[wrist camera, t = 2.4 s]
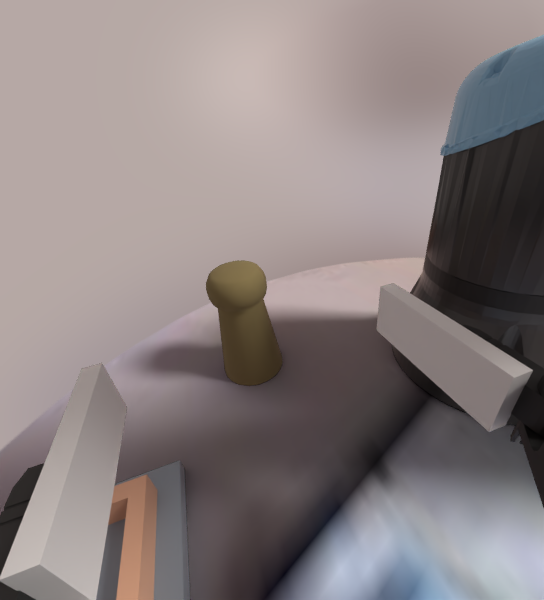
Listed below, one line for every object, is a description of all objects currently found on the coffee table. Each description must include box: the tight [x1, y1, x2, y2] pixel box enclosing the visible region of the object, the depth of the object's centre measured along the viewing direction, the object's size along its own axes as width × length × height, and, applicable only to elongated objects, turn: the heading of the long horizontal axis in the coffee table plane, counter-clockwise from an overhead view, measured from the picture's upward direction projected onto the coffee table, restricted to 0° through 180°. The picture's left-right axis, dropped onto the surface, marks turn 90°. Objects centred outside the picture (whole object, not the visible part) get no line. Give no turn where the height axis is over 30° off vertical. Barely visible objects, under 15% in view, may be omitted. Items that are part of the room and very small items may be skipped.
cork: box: [206, 261, 282, 386], centre depth 26 cm, size 6×6×11 cm
